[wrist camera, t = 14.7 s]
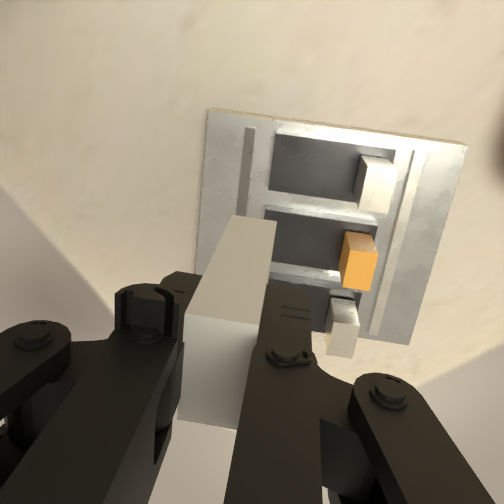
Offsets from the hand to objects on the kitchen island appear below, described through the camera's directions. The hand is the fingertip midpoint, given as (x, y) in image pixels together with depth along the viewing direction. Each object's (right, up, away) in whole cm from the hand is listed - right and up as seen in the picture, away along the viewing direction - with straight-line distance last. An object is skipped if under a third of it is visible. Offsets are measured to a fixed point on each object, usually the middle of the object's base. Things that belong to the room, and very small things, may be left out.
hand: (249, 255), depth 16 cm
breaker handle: (+8, 0, +21) cm, 23 cm away
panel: (+6, +2, +25) cm, 26 cm away
